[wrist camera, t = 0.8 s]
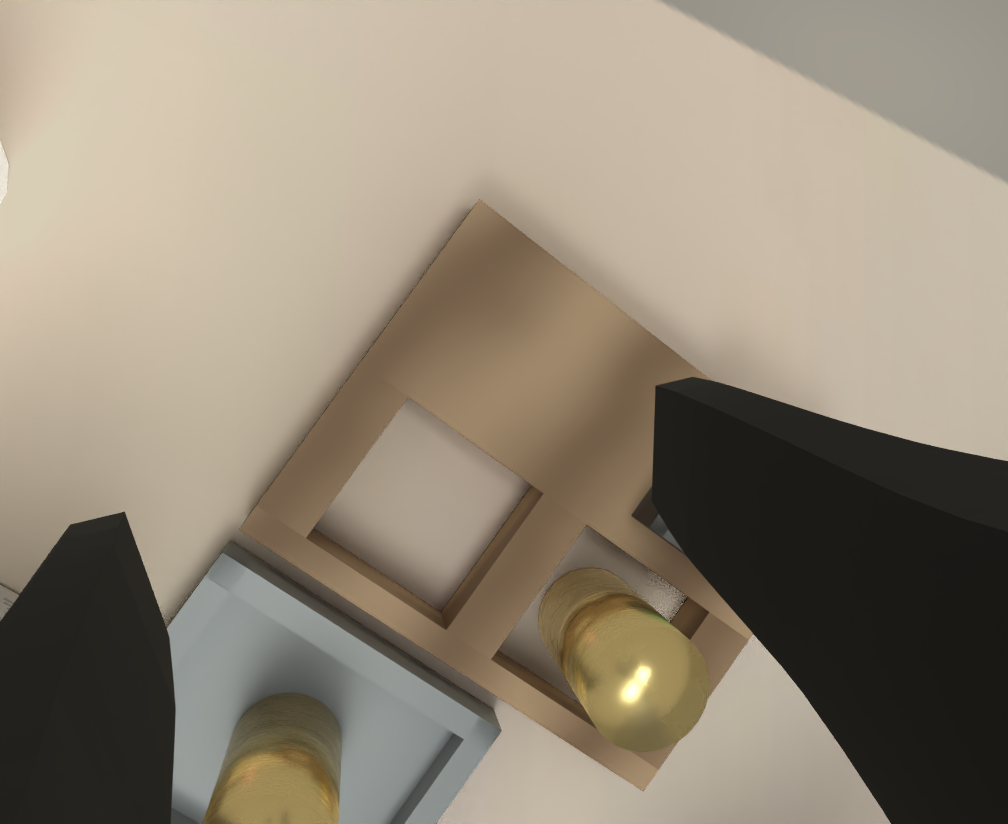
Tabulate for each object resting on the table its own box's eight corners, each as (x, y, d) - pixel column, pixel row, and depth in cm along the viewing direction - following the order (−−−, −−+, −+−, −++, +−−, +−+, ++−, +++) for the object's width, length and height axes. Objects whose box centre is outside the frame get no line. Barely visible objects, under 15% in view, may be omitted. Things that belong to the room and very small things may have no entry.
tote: (493, 709, 32) (501, 730, 30) (342, 924, 32) (341, 957, 30) (230, 540, 30) (222, 552, 28) (64, 768, 30) (45, 795, 28)
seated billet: (655, 603, 33) (733, 670, 26) (597, 685, 33) (660, 775, 26) (577, 548, 32) (636, 602, 25) (518, 632, 32) (561, 710, 25)
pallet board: (823, 482, 34) (884, 500, 30) (626, 765, 33) (662, 821, 29) (471, 208, 30) (488, 188, 27) (247, 517, 30) (229, 543, 26)
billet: (363, 728, 31) (364, 837, 24) (300, 817, 31) (282, 953, 24) (273, 672, 30) (246, 768, 23) (207, 763, 30) (161, 887, 23)
